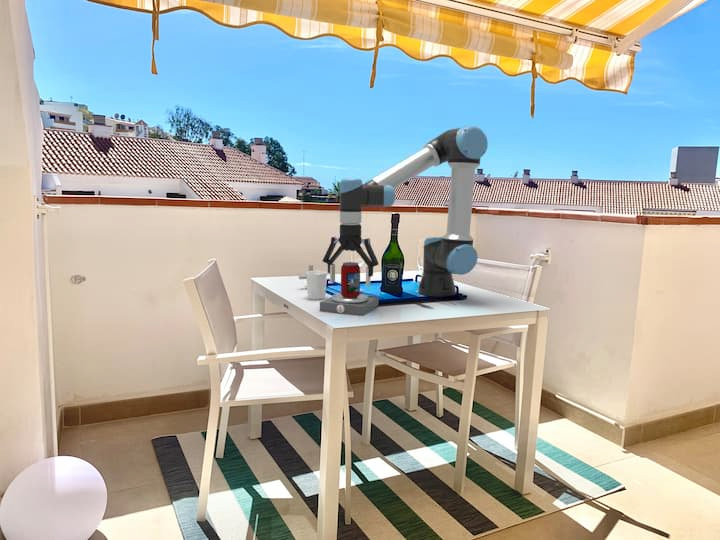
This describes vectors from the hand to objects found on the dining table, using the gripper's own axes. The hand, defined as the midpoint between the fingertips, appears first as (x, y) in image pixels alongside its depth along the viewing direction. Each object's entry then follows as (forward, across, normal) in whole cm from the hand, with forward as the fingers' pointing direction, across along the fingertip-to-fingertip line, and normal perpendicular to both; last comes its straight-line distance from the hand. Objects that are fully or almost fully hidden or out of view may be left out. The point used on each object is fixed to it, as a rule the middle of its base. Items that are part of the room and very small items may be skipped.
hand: (350, 284), depth 175 cm
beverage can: (+5, 0, 0) cm, 5 cm away
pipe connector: (+9, +28, -25) cm, 39 cm away
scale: (+9, 0, 0) cm, 9 cm away
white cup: (+9, +18, -10) cm, 22 cm away
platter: (+6, 0, 0) cm, 6 cm away
